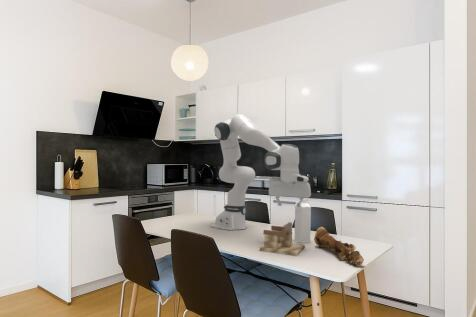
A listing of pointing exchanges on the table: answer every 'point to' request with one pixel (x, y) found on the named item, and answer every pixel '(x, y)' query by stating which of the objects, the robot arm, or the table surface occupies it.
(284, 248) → the stand
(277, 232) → the brown u-shaped block
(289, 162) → the robot arm
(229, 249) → the table surface
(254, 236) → the table surface
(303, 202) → the milk
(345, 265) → the table surface
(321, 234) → the sculpture
